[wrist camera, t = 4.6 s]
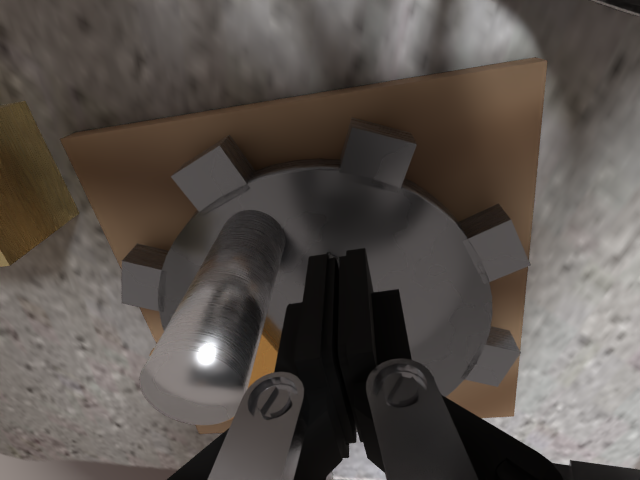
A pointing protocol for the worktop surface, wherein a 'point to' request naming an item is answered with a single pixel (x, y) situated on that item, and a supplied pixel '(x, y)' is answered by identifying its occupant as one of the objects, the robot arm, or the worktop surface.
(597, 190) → the worktop surface
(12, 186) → the tan block with orange
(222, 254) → the sprocket
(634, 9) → the wheel rim
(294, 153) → the sprocket base
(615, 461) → the worktop surface
